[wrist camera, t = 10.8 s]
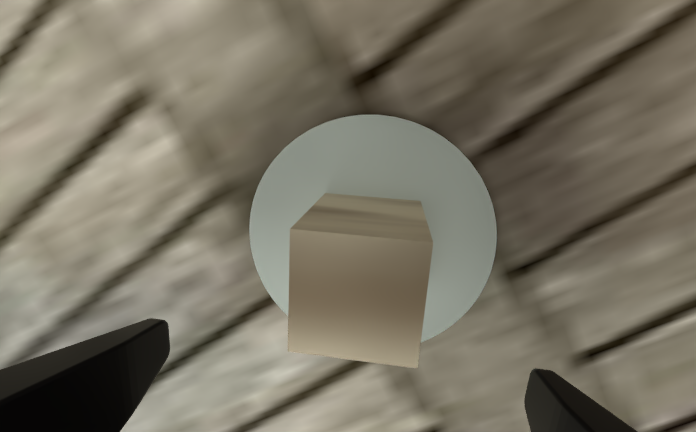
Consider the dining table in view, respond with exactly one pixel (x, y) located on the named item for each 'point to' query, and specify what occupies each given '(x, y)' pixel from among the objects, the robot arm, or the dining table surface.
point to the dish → (384, 182)
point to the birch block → (359, 279)
